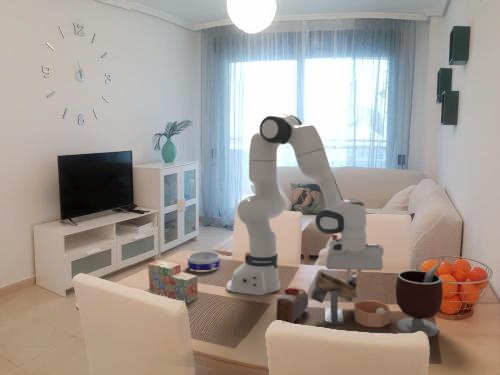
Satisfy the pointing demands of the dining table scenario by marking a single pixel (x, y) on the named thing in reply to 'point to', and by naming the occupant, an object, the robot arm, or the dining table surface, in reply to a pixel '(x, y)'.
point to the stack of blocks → (172, 281)
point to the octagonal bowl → (371, 313)
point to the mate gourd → (419, 299)
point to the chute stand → (334, 311)
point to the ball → (380, 310)
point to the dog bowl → (203, 260)
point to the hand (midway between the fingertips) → (353, 280)
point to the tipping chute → (333, 287)
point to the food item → (291, 304)
